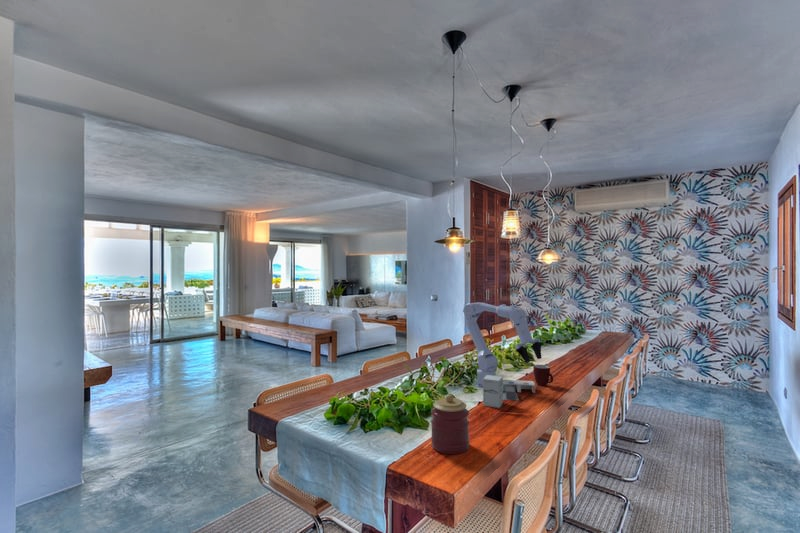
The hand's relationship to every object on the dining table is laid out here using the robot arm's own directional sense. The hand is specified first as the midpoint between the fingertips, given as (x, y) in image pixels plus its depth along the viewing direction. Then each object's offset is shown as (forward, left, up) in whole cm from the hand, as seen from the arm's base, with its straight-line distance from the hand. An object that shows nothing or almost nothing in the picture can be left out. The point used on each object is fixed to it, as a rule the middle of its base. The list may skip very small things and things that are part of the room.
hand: (533, 360), depth 181 cm
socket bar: (-6, +8, -17) cm, 20 cm away
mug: (+7, +20, -18) cm, 27 cm away
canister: (-34, -57, -18) cm, 69 cm away
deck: (-11, -2, -17) cm, 21 cm away
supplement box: (-19, -14, -18) cm, 30 cm away
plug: (-11, -2, -17) cm, 20 cm away
